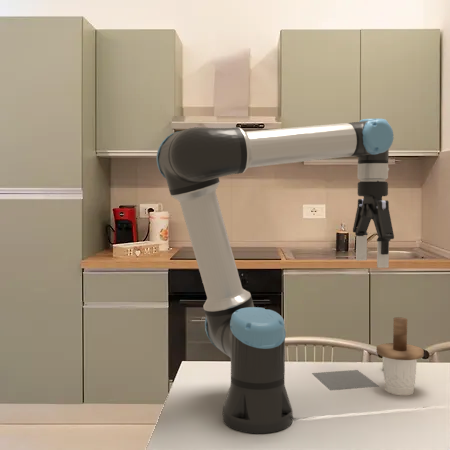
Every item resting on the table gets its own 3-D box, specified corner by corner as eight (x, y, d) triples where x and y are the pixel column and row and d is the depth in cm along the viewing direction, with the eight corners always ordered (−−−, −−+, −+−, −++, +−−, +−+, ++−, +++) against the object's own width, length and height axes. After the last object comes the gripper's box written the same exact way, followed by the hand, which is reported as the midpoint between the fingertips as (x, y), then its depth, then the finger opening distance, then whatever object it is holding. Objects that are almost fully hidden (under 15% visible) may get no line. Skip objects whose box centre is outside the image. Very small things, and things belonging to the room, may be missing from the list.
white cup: (412, 388, 147) (413, 349, 146) (419, 399, 139) (420, 358, 138) (380, 387, 147) (380, 348, 147) (385, 398, 139) (386, 357, 139)
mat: (330, 393, 143) (330, 390, 143) (311, 376, 156) (311, 373, 156) (379, 389, 146) (379, 386, 146) (357, 372, 158) (357, 369, 158)
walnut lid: (390, 361, 136) (390, 325, 135) (368, 348, 146) (369, 315, 146) (432, 358, 138) (433, 322, 137) (408, 345, 149) (409, 312, 148)
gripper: (409, 180, 137) (407, 270, 138) (367, 180, 161) (366, 257, 163) (379, 180, 136) (377, 271, 137) (341, 180, 160) (340, 257, 162)
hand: (371, 263), depth 150 cm, fingers open, 13 cm apart
